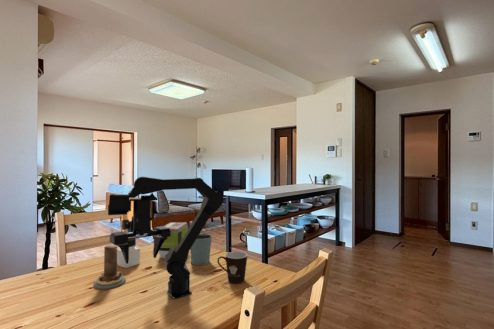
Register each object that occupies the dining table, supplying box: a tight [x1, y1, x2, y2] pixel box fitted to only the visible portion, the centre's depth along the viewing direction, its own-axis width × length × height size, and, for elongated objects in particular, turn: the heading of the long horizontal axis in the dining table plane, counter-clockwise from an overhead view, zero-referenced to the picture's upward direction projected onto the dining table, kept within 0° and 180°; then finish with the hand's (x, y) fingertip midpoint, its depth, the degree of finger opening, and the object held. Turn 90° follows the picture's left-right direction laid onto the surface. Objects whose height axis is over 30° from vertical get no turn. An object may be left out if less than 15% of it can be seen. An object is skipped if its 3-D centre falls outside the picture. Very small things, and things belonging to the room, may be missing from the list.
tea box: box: [158, 222, 188, 259], centre depth 142 cm, size 15×10×15 cm
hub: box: [96, 274, 124, 286], centre depth 106 cm, size 9×9×1 cm
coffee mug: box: [216, 251, 248, 285], centre depth 110 cm, size 12×9×10 cm
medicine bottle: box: [117, 238, 141, 269], centre depth 126 cm, size 7×7×12 cm
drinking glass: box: [189, 233, 213, 266], centre depth 130 cm, size 10×10×12 cm
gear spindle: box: [98, 244, 122, 282], centre depth 106 cm, size 8×7×12 cm
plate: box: [93, 275, 127, 290], centre depth 106 cm, size 11×11×1 cm
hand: (141, 260), depth 93 cm, fingers open, 9 cm apart
